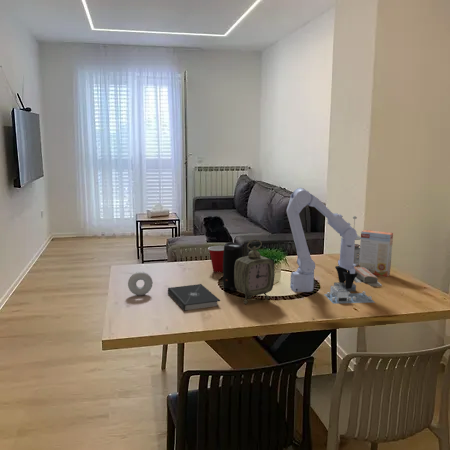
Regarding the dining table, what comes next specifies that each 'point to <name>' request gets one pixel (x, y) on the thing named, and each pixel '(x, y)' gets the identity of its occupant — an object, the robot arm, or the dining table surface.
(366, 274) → the packaged product
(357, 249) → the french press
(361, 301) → the drive tray
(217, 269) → the plastic cup
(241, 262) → the tabletop clock
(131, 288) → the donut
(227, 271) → the portable speaker
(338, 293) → the seated drive
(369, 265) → the cracker box
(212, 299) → the book
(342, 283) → the loose drive
